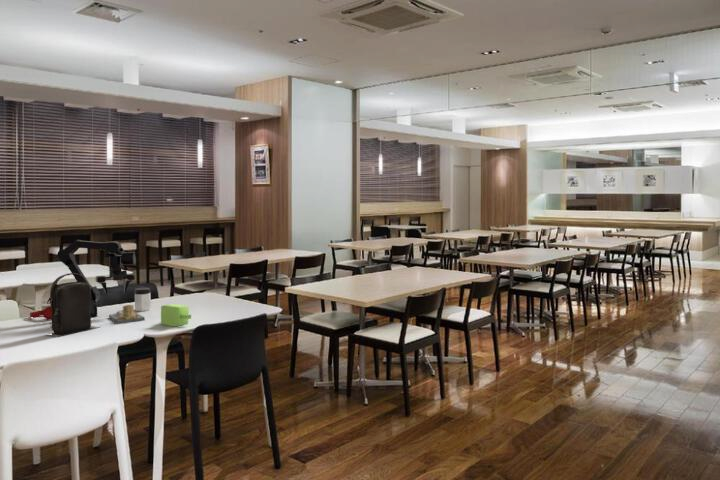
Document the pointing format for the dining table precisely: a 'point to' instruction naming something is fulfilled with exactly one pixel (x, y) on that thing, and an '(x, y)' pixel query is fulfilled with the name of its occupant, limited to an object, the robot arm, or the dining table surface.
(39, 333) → the dining table surface
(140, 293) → the jar
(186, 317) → the gearbox
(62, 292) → the shoulder bag
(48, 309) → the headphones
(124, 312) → the brass gear
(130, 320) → the plate
